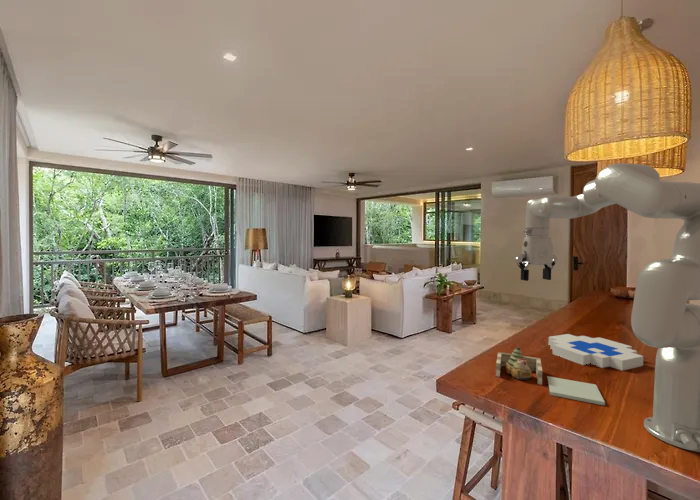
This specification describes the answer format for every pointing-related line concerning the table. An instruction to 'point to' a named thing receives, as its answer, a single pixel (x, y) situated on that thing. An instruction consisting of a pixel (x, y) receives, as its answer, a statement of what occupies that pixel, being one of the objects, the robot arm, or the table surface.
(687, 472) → the table surface
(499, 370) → the shelf bay
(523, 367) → the ornament
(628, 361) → the pixel art tile
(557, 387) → the tile mat
